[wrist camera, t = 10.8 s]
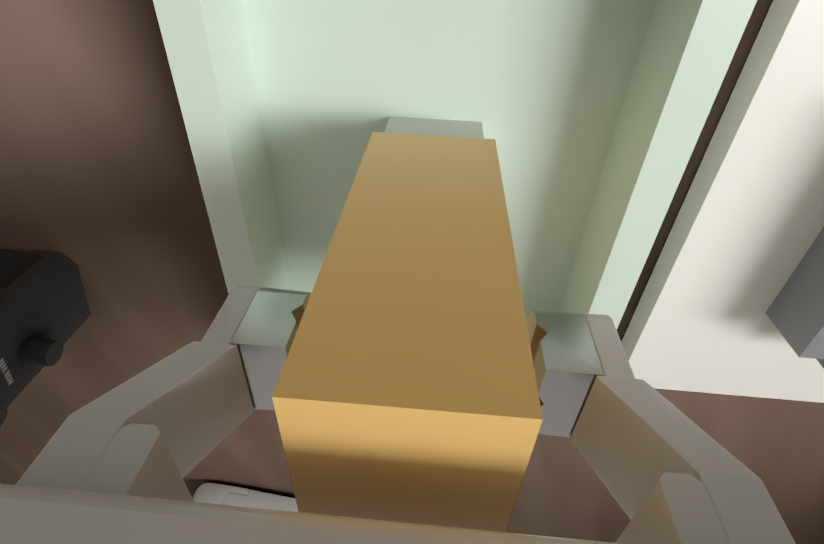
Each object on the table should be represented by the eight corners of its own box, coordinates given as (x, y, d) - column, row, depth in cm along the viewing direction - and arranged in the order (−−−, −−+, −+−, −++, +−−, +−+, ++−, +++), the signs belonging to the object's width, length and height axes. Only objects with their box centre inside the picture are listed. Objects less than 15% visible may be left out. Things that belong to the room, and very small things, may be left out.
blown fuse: (490, 111, 13) (542, 419, 5) (470, 258, 16) (484, 593, 8) (382, 105, 13) (272, 397, 5) (383, 252, 16) (312, 577, 8)
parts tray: (719, -91, 11) (795, -90, 8) (568, 345, 19) (583, 406, 17) (193, -118, 11) (120, -125, 9) (275, 321, 20) (250, 378, 17)
